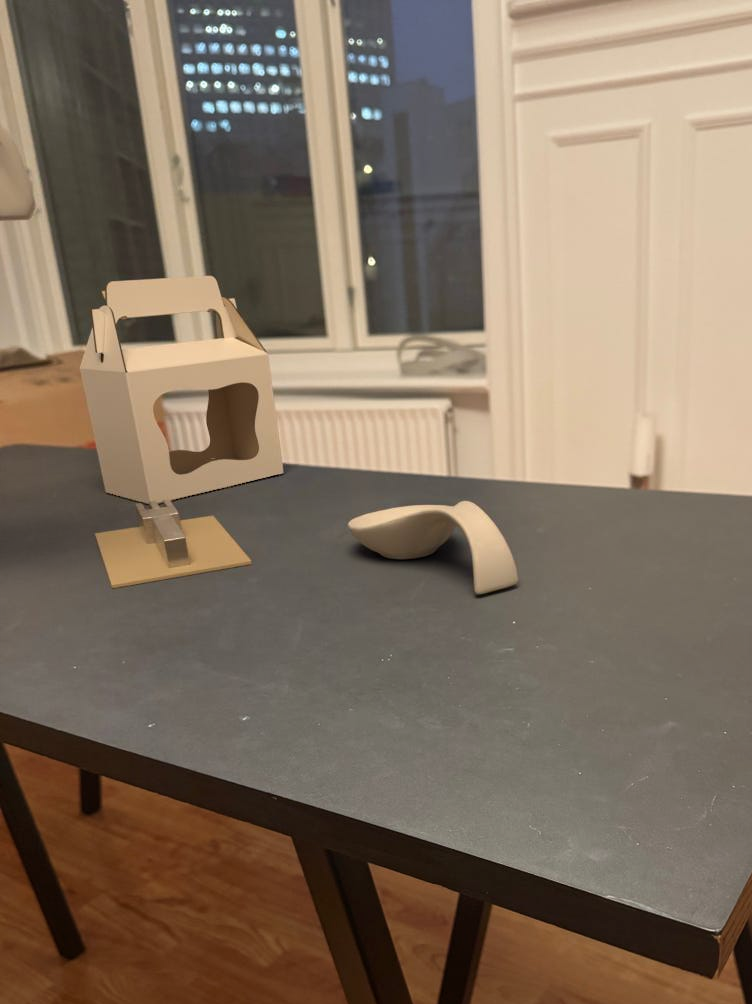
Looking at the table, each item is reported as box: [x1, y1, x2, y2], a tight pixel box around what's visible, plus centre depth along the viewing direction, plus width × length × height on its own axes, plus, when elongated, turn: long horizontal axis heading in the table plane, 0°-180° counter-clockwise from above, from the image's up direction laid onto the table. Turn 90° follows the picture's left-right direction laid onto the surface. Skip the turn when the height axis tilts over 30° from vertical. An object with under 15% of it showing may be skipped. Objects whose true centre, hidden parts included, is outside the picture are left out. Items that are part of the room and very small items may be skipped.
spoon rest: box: [347, 500, 519, 595], centre depth 93 cm, size 24×12×7 cm, turn 34°
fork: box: [134, 499, 190, 568], centre depth 103 cm, size 19×4×3 cm, turn 25°
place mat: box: [94, 515, 253, 589], centre depth 103 cm, size 22×14×1 cm, turn 25°
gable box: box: [79, 275, 285, 505], centre depth 129 cm, size 22×13×28 cm, turn 137°
